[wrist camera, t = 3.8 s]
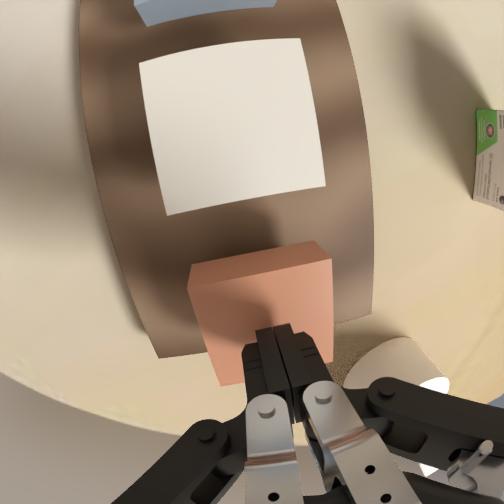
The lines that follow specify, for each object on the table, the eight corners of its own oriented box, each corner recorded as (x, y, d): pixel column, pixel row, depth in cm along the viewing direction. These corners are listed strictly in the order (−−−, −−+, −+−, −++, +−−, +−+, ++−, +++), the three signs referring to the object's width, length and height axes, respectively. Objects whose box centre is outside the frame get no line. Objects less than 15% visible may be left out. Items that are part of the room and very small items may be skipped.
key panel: (92, -3, 9) (73, -23, 6) (307, -37, 10) (322, -62, 7) (162, 340, 19) (155, 373, 16) (359, 299, 20) (380, 325, 16)
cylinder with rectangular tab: (423, 366, 25) (477, 438, 13) (357, 411, 26) (397, 493, 14) (410, 320, 21) (489, 408, 10) (329, 375, 22) (379, 486, 11)
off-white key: (153, 78, 10) (138, 63, 8) (285, 56, 10) (299, 38, 8) (176, 203, 12) (167, 215, 10) (306, 179, 12) (325, 186, 10)
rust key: (191, 264, 13) (186, 288, 11) (313, 240, 13) (331, 258, 11) (219, 356, 15) (220, 386, 13) (319, 335, 16) (333, 361, 13)
